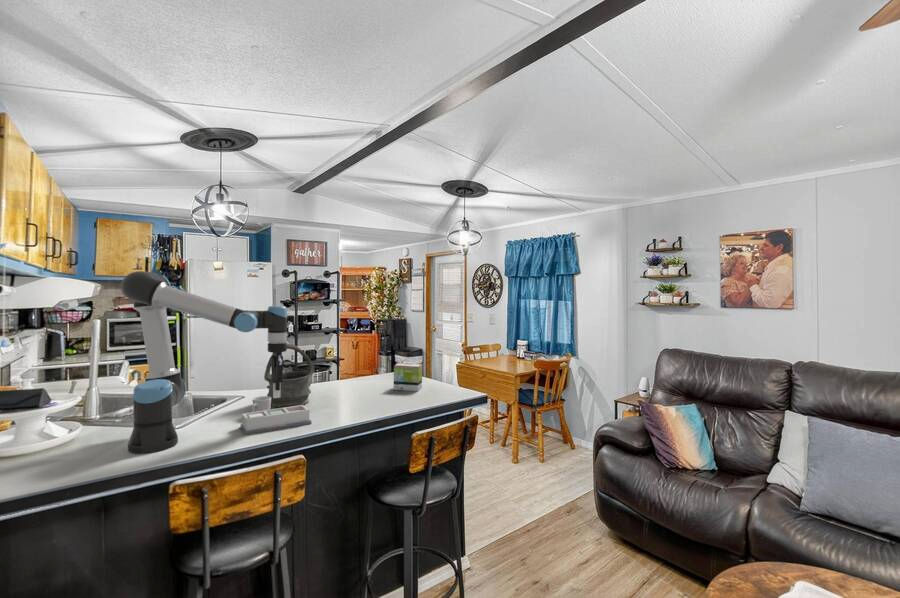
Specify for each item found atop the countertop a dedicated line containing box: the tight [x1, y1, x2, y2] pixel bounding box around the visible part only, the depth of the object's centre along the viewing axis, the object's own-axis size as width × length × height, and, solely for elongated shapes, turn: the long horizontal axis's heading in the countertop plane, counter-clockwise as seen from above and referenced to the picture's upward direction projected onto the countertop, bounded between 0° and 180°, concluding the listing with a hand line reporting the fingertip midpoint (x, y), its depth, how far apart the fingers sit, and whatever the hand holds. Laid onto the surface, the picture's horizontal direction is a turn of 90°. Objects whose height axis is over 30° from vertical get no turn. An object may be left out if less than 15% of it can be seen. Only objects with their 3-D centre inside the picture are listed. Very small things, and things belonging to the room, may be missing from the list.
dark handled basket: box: [263, 343, 315, 409], centre depth 217 cm, size 22×23×30 cm
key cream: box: [248, 413, 264, 418], centre depth 176 cm, size 5×5×2 cm
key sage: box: [269, 410, 284, 415], centre depth 181 cm, size 5×5×2 cm
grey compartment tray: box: [239, 404, 312, 436], centre depth 181 cm, size 26×12×6 cm, turn 125°
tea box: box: [393, 362, 423, 392], centre depth 250 cm, size 15×10×15 cm, turn 81°
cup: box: [250, 395, 272, 412], centre depth 194 cm, size 11×8×8 cm
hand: (276, 397), depth 181 cm, fingers closed
